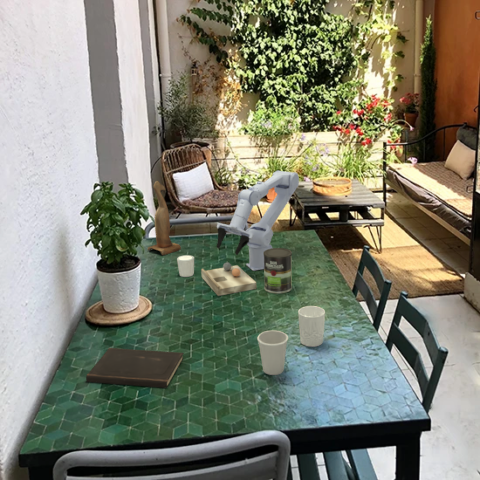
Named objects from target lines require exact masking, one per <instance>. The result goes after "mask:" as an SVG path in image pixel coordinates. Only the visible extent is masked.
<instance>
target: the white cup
mask: <svg viewBox="0 0 480 480" xmlns="http://www.w3.org/2000/svg"><path fill="white" fill-rule="evenodd" d="M297 313H298V327H299V329H298V330H299V341H300V344H302V345H303V346H306V347H313V348H314V347H315V348H316V347H319V346H321V345H322V344H323V343H324V332H325V318H326V311H325V309H324V308H322V307H319V306H316V305H306V306H303V307H301V308H299V309H298V311H297Z"/></svg>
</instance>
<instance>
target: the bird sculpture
mask: <svg viewBox="0 0 480 480" xmlns="http://www.w3.org/2000/svg"><path fill="white" fill-rule="evenodd" d="M159 181H160V180H159ZM159 181H158V180H155V182H154V184H153V187H152V188H153V189H154V192H155V195H156V198H157V202H158V207H157V209H156V211H155V213H154V232H155V241H156V244H155V245H154V244H153V245H152V246H151V245H150V246H148V247H147V251H148V250H149V251H152V250H156V251H159V252H160V254H161V255H162V256H165V255H168V254H172V253H175V252H178V251H181V249H182V247H181V245H180V244H178V243H175V242H172V240H171V237H170V232H171V224H170V223H171V220H170V214H169V209H168V206H167V202H166V200H165V198H164V197H163V194H162V192H166V188H165V185H163V184H162V183H161V182H159ZM151 249H152V250H151Z"/></svg>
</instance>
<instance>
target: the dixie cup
mask: <svg viewBox="0 0 480 480" xmlns="http://www.w3.org/2000/svg"><path fill="white" fill-rule="evenodd" d="M256 339H257V342H258V346H259V352H260V358H261V366H262V370H263V373H264V374H267V375H271V376H277V375H281V374H282V373H283V372H285V371H284V369H285V361H286V354H287V346H288V340H289V336H288V334H287V333H286V332H285V333H284V331H280V330H265V331H262V332H261V333H259V335H258V336H257V338H256Z"/></svg>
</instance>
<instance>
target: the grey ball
mask: <svg viewBox="0 0 480 480" xmlns="http://www.w3.org/2000/svg"><path fill="white" fill-rule="evenodd" d="M231 266H232V264H231V263H230V262H224V263H223V265H222V268H224V270H226V271H228V270H230V269H231Z"/></svg>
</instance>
